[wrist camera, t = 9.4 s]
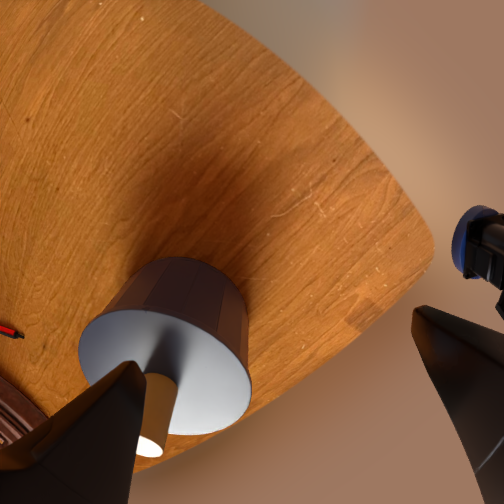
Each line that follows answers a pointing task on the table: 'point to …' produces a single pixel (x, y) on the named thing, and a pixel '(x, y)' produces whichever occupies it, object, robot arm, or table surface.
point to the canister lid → (169, 370)
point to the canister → (190, 296)
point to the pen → (10, 333)
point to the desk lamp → (16, 414)
